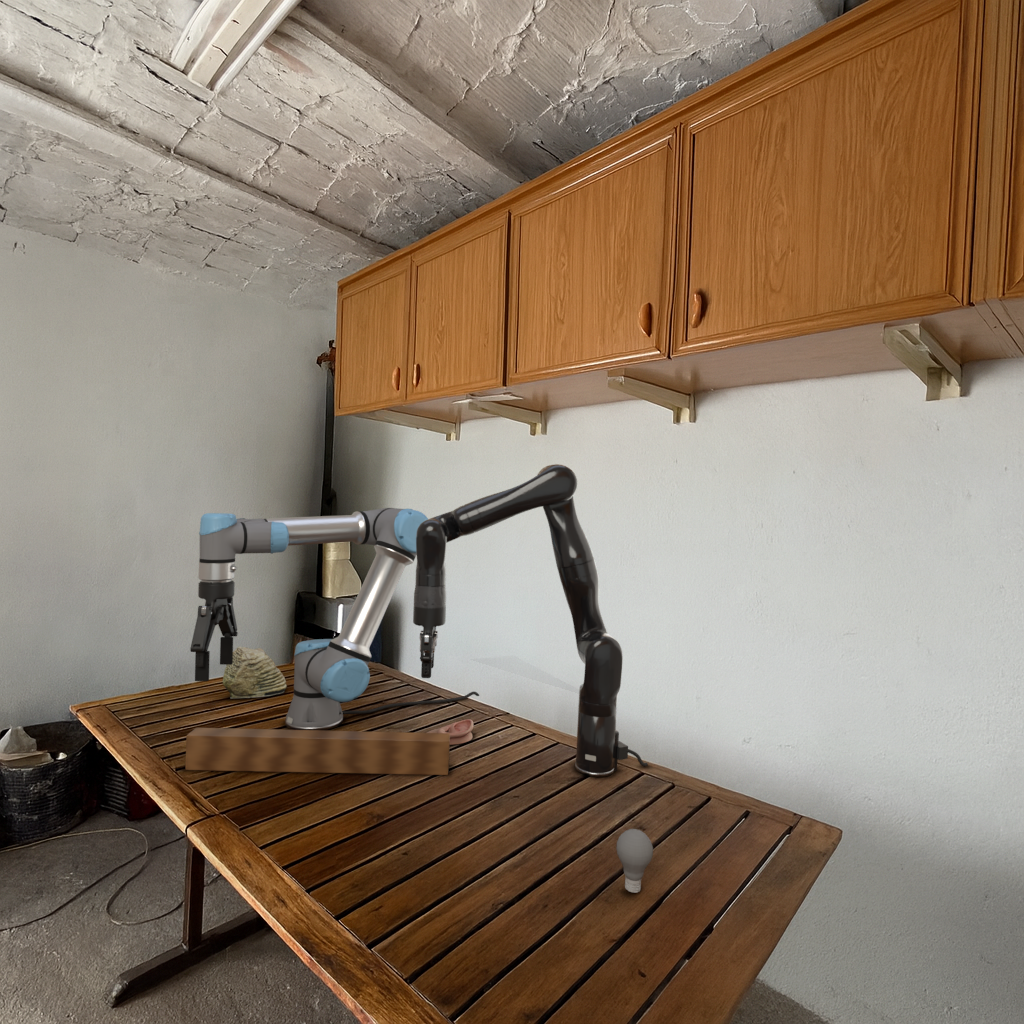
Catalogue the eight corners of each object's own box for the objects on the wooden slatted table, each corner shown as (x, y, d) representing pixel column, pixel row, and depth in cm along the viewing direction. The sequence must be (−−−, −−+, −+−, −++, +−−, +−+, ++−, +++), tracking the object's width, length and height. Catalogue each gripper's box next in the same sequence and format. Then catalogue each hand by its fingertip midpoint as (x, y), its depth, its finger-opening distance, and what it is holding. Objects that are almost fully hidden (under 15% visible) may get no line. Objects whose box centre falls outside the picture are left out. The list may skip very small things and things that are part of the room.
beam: (185, 770, 143) (186, 735, 143) (194, 760, 148) (196, 727, 148) (447, 775, 147) (449, 741, 147) (448, 766, 152) (450, 733, 152)
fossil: (218, 695, 195) (220, 647, 195) (278, 685, 208) (279, 640, 207) (228, 703, 189) (230, 653, 188) (289, 692, 201) (290, 645, 201)
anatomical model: (416, 727, 165) (431, 713, 176) (416, 742, 165) (430, 727, 176) (465, 733, 162) (477, 718, 174) (465, 748, 162) (476, 732, 174)
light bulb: (610, 879, 108) (613, 822, 108) (644, 879, 109) (647, 822, 109) (619, 902, 102) (622, 840, 102) (655, 901, 103) (658, 840, 103)
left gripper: (210, 588, 133) (208, 688, 134) (252, 574, 158) (250, 658, 159) (174, 587, 133) (171, 688, 133) (221, 573, 158) (219, 657, 158)
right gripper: (444, 609, 141) (441, 681, 142) (447, 599, 156) (445, 665, 156) (410, 608, 141) (408, 681, 141) (416, 598, 155) (414, 664, 156)
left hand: (214, 672), depth 146 cm, fingers open, 13 cm apart
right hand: (427, 672), depth 149 cm, fingers open, 8 cm apart
